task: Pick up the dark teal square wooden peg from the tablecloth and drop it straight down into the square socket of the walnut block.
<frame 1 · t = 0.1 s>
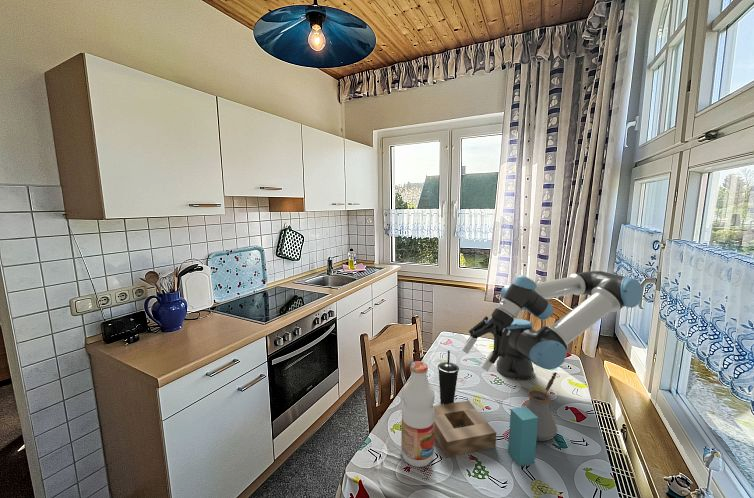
hand: (473, 360, 115), 15 cm above the table, tool tilted 35°, fingers open, 13 cm apart
fruit juice: (417, 455, 91), on the table
peg: (521, 457, 90), on the table
coffee pot: (541, 425, 103), on the table
socket block: (458, 433, 99), on the table
drinking cup: (447, 401, 116), on the table
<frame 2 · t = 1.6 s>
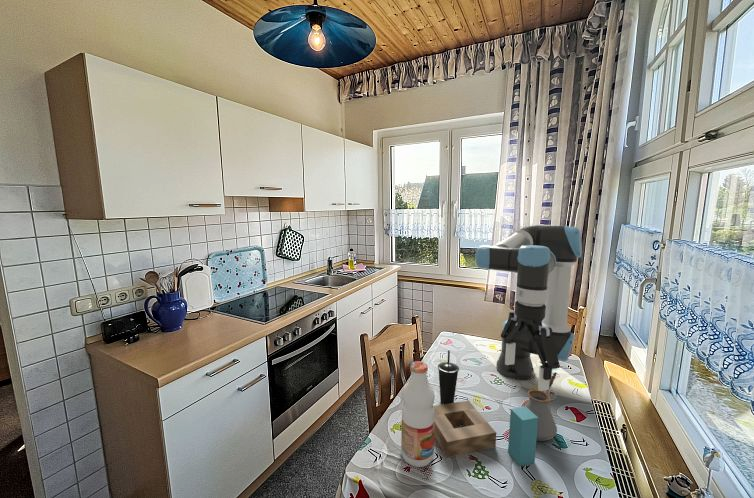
hand: (525, 375, 87), 25 cm above the table, tool pointing down, fingers open, 13 cm apart
nothing on the table moved.
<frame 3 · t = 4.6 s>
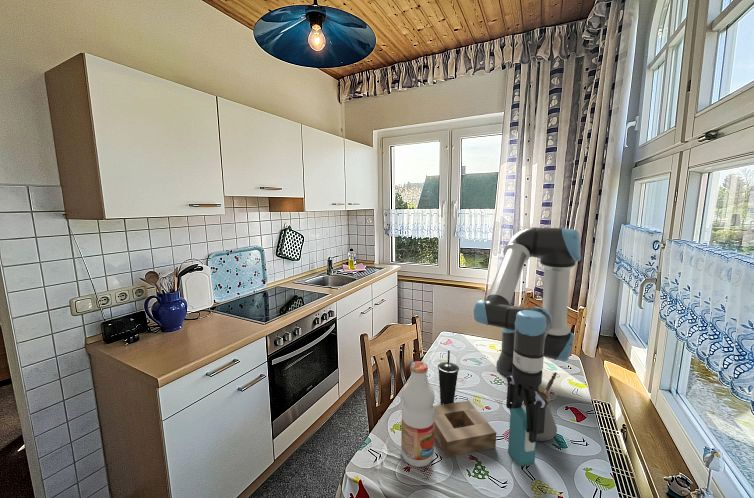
hand: (522, 442, 89), 5 cm above the table, tool pointing down, fingers closed on peg, 5 cm apart
peg: (521, 457, 90), on the table, touching gripper
everything else where it was.
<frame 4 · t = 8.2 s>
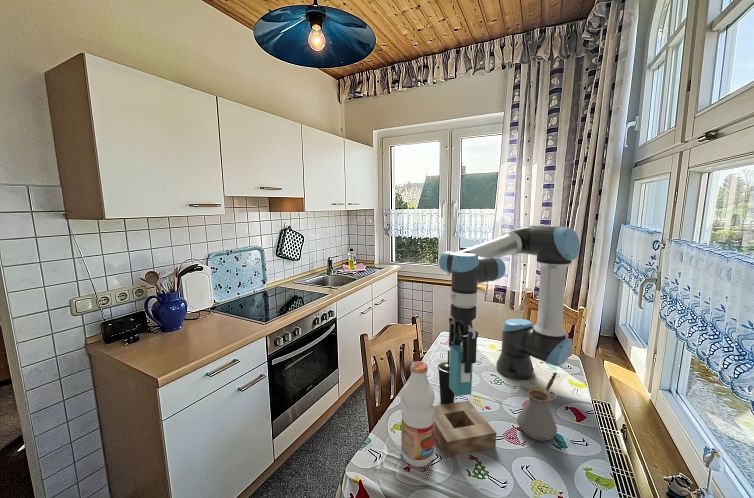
hand: (460, 376, 97), 20 cm above the table, tool pointing down, fingers closed on peg, 5 cm apart
peg: (459, 390, 97), point 15 cm above the table, touching gripper
everything else where it was.
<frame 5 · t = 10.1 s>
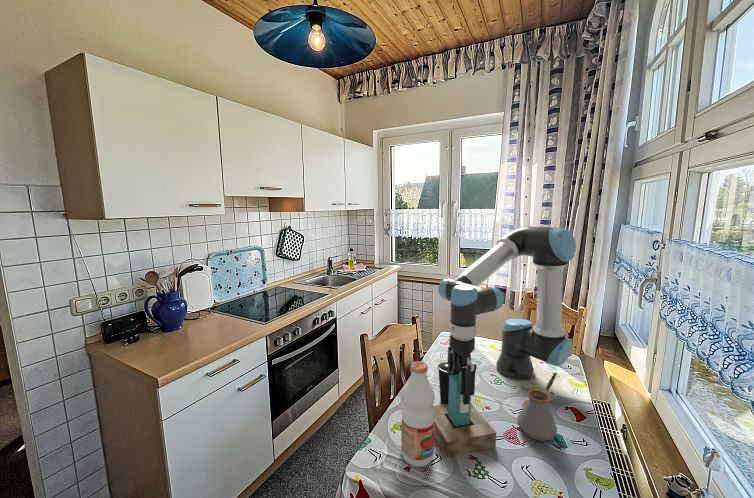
hand: (459, 405, 98), 10 cm above the table, tool pointing down, fingers closed on peg, 5 cm apart
peg: (458, 419, 99), point 5 cm above the table, touching gripper
everything else where it was.
when the fingers open (8 cm above the table, at t = 11.7 s): peg drops 3 cm, resting in socket block.
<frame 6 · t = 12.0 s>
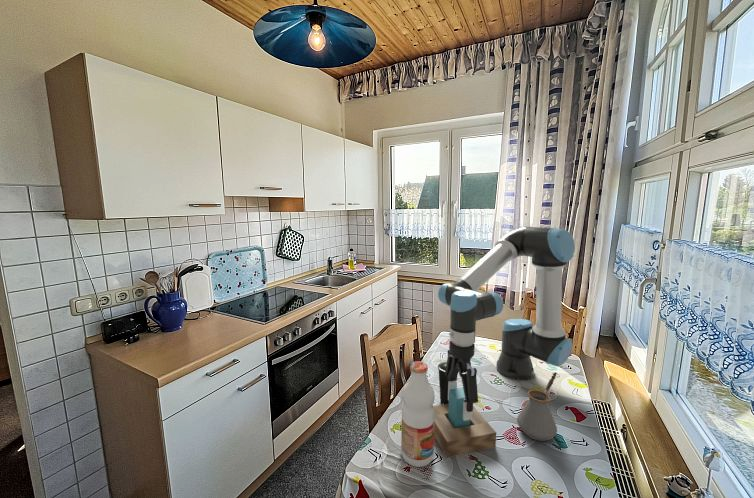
hand: (459, 409, 98), 9 cm above the table, tool pointing down, fingers open, 9 cm apart
peg: (458, 433, 99), resting in socket block
everything else where it was.
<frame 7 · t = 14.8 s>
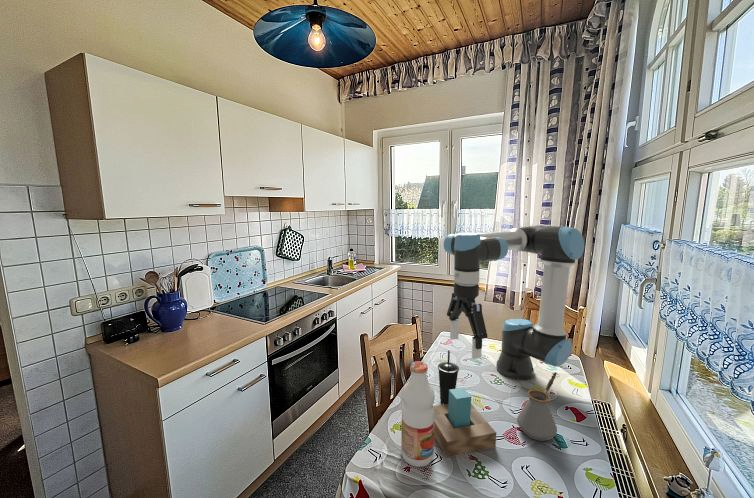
hand: (464, 347, 99), 27 cm above the table, tool pointing down, fingers open, 13 cm apart
nothing on the table moved.
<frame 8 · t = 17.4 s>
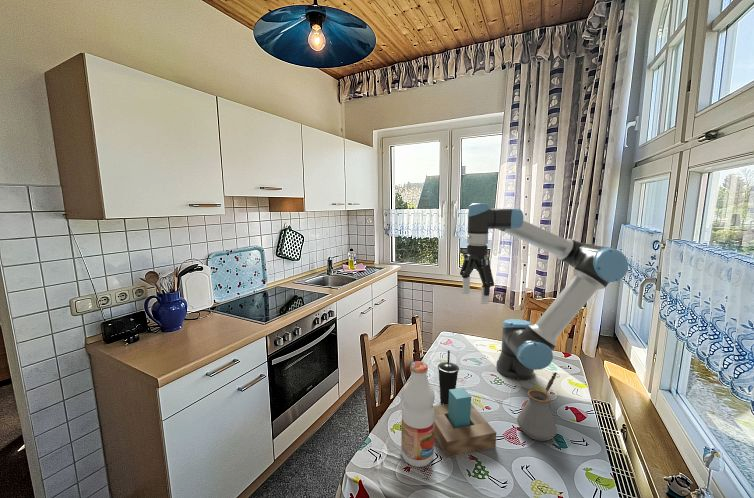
hand: (474, 298, 121), 37 cm above the table, tool pointing down, fingers open, 13 cm apart
nothing on the table moved.
at the end: peg 0.0 cm off-centre on the socket block, point 0.0 cm above the socket block's base; peg tilted 0°; the gripper is holding nothing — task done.
